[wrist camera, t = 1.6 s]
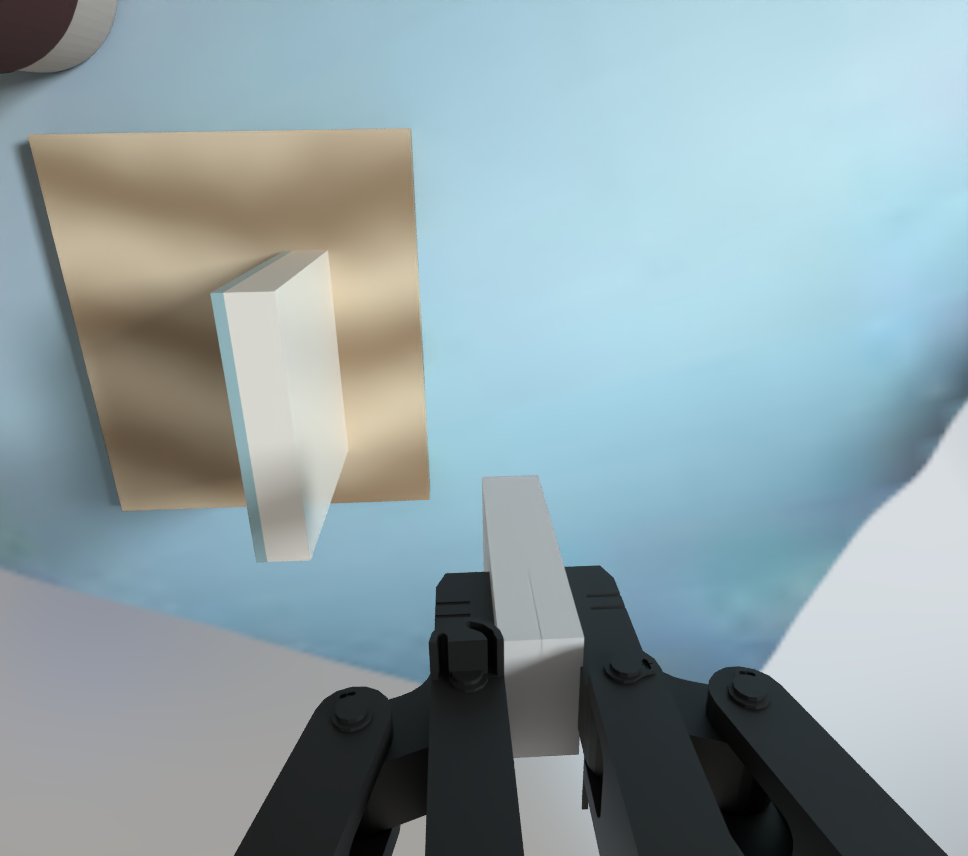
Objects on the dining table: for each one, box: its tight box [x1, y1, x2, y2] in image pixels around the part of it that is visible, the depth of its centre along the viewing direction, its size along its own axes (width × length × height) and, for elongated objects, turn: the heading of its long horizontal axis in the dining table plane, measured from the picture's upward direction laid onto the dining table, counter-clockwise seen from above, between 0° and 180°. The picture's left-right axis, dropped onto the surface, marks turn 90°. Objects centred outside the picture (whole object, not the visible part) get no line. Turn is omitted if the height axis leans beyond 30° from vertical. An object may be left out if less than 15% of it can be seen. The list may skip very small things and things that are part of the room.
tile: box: [210, 250, 348, 562], centre depth 28 cm, size 10×2×10 cm, turn 1°
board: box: [28, 128, 430, 511], centre depth 32 cm, size 18×16×1 cm
